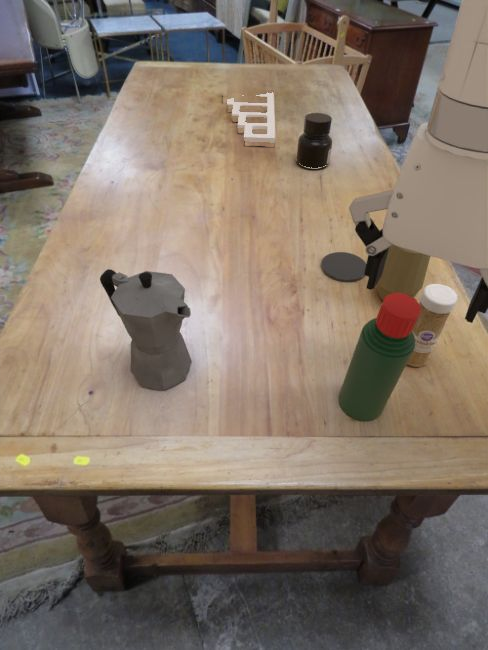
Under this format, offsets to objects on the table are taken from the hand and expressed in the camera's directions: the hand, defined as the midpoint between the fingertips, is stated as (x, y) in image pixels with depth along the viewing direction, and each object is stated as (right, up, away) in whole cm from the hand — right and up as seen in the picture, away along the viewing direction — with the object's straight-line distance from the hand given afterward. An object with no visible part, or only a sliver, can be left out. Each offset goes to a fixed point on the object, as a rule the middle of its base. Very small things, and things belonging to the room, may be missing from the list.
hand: (420, 297), depth 44 cm
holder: (-17, +65, +98) cm, 119 cm away
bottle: (-1, -14, +19) cm, 23 cm away
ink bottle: (+1, +41, +75) cm, 86 cm away
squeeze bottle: (+10, +2, +36) cm, 37 cm away
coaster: (+2, +8, +42) cm, 43 cm away
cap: (0, -3, +7) cm, 8 cm away
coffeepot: (-31, -9, +23) cm, 40 cm away
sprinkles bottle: (+9, -8, +25) cm, 28 cm away
